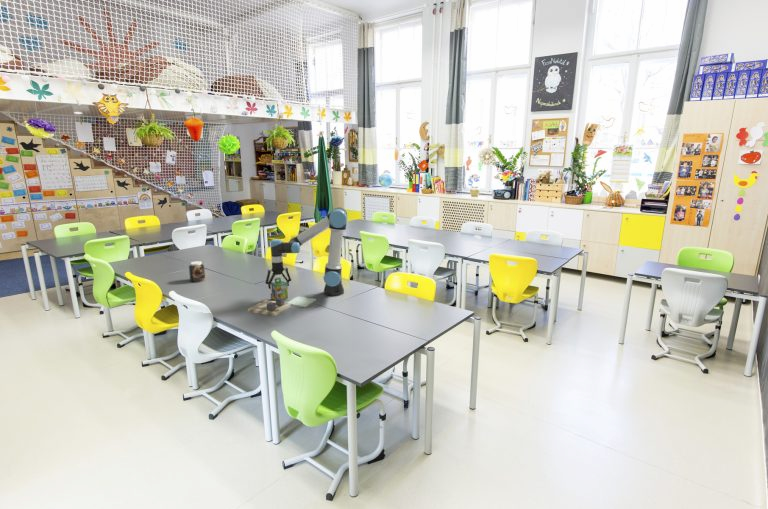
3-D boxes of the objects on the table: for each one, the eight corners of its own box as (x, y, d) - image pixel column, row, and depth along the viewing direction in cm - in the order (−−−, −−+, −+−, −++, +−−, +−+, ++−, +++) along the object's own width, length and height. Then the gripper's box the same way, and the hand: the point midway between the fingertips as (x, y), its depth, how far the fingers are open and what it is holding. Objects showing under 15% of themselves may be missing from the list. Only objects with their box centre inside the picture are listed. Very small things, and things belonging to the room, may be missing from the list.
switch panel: (290, 306, 277) (290, 303, 276) (274, 316, 259) (274, 313, 259) (265, 302, 283) (265, 299, 282) (248, 312, 265) (248, 309, 265)
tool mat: (316, 300, 289) (316, 298, 288) (305, 307, 275) (305, 305, 275) (297, 297, 293) (297, 296, 293) (286, 304, 279) (286, 303, 279)
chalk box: (276, 301, 283) (275, 281, 280) (270, 298, 290) (268, 278, 286) (288, 298, 289) (287, 278, 286) (282, 295, 296) (280, 275, 292)
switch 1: (275, 308, 265) (275, 302, 264) (272, 310, 261) (272, 304, 260) (270, 307, 266) (270, 302, 265) (267, 310, 263) (266, 304, 262)
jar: (186, 281, 328) (184, 263, 325) (197, 277, 339) (195, 260, 335) (198, 283, 324) (196, 264, 321) (208, 279, 335) (207, 261, 332)
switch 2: (284, 303, 274) (284, 297, 273) (281, 305, 271) (280, 299, 270) (279, 302, 276) (278, 297, 275) (275, 304, 272) (275, 299, 271)
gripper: (292, 258, 291) (293, 288, 297) (259, 262, 282) (261, 292, 287) (294, 261, 285) (296, 291, 290) (261, 264, 275) (263, 295, 280)
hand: (279, 291), depth 288 cm, fingers closed on chalk box, 10 cm apart
